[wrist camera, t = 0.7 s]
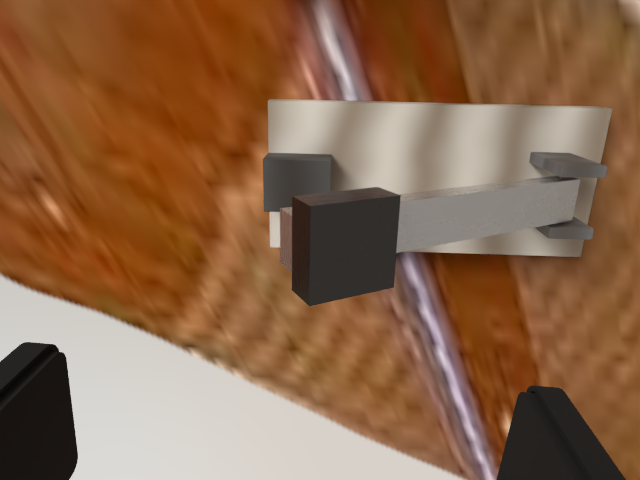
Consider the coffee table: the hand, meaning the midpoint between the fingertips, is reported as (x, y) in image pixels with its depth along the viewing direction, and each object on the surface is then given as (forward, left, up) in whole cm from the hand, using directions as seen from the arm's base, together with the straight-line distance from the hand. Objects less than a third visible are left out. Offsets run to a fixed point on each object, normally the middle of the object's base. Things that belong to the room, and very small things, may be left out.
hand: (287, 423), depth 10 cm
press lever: (-7, +1, -21) cm, 23 cm away
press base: (-8, +1, -32) cm, 33 cm away
